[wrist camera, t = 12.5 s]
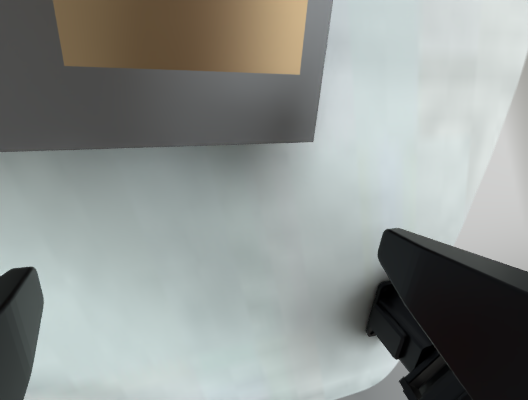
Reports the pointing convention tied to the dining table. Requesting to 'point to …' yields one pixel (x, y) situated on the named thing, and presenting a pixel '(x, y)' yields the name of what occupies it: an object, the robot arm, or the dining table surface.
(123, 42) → the oak block
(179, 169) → the dining table surface
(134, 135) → the slate pedestal
